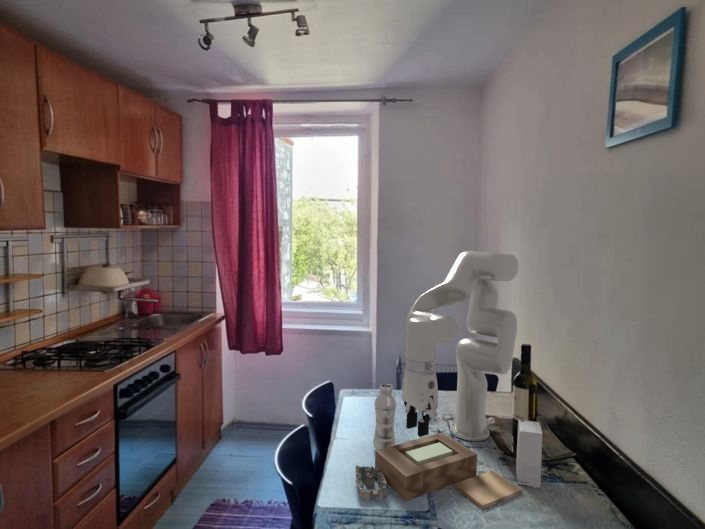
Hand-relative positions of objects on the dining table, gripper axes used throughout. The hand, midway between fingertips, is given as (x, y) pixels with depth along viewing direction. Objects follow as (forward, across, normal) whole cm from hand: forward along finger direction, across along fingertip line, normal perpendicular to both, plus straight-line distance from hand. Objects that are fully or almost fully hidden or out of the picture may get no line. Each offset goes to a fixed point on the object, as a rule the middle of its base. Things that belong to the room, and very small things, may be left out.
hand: (417, 430), depth 118 cm
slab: (+9, 0, -4) cm, 10 cm away
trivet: (+13, -13, -14) cm, 23 cm away
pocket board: (+13, 0, -4) cm, 14 cm away
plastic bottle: (+14, +16, 0) cm, 21 cm away
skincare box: (+14, -14, -28) cm, 34 cm away
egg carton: (+14, +2, +13) cm, 19 cm away
